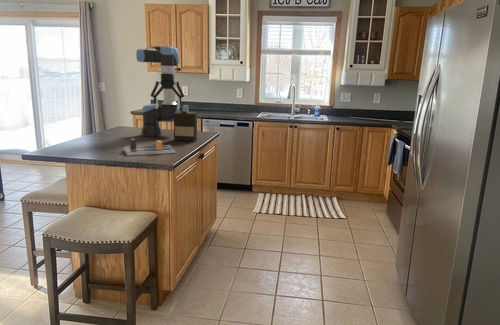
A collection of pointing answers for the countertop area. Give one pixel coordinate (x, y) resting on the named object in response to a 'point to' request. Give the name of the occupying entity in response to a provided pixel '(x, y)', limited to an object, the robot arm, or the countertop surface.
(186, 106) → the bottle
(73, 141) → the countertop surface
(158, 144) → the orange fader
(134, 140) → the black fader
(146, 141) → the countertop surface
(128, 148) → the panel
